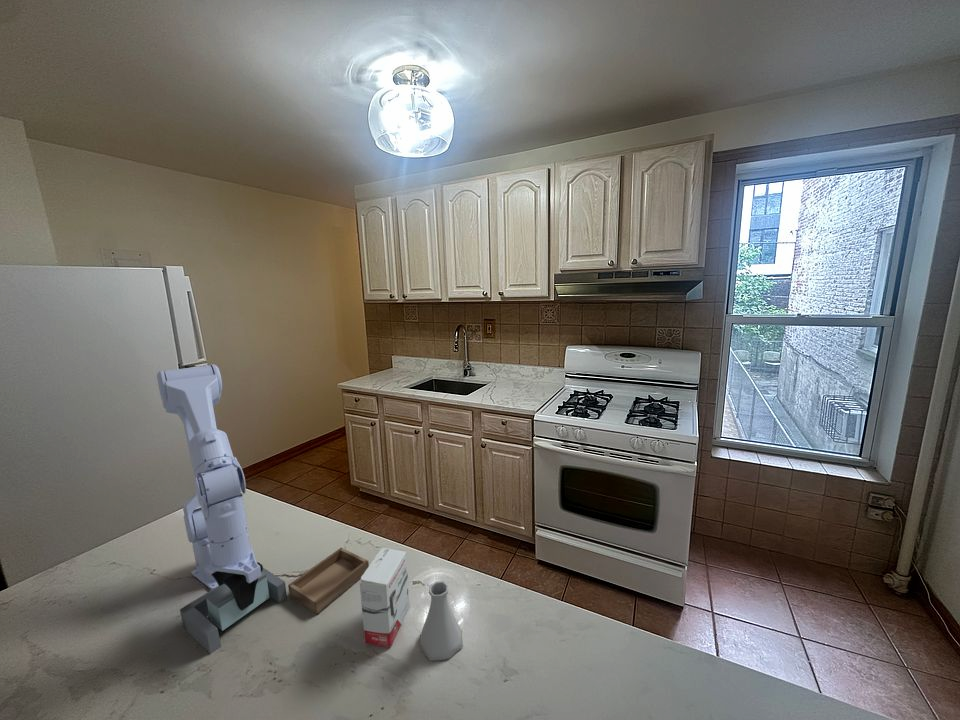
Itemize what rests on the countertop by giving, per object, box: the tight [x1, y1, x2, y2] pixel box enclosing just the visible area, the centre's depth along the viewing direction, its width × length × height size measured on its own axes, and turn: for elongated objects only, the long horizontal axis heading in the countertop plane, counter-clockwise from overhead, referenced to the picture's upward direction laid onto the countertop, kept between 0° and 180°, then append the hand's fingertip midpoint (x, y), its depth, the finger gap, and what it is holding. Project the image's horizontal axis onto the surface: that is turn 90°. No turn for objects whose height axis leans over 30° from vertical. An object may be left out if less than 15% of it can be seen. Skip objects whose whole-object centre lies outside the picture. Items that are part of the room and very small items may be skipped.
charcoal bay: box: [179, 567, 288, 654], centre depth 67 cm, size 10×13×4 cm
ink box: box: [359, 547, 411, 648], centre depth 63 cm, size 9×5×12 cm, turn 168°
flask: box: [419, 580, 463, 662], centre depth 60 cm, size 7×7×10 cm
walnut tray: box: [287, 547, 370, 616], centre depth 74 cm, size 9×12×2 cm
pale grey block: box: [205, 572, 270, 632], centre depth 66 cm, size 4×8×5 cm, turn 149°
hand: (239, 600), depth 66 cm, fingers closed on pale grey block, 4 cm apart
